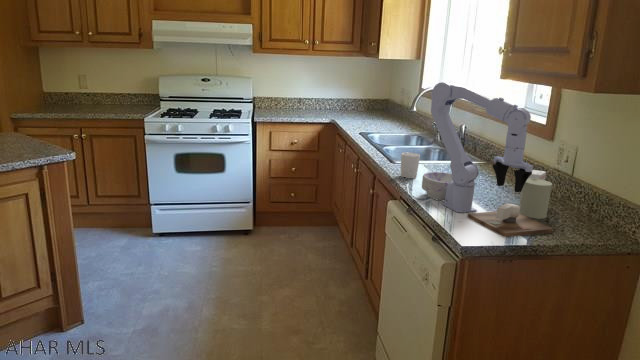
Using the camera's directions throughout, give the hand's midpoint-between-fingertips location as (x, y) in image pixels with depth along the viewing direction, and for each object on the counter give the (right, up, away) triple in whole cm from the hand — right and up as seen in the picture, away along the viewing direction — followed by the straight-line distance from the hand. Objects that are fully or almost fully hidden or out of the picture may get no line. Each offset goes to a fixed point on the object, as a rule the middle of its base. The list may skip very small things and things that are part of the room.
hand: (509, 188), depth 153 cm
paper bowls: (-16, -4, +24) cm, 29 cm away
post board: (-1, -11, -2) cm, 12 cm away
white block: (-3, -9, -5) cm, 10 cm away
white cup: (-23, +4, +52) cm, 57 cm away
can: (+12, -9, +10) cm, 18 cm away
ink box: (+17, -6, +23) cm, 29 cm away
